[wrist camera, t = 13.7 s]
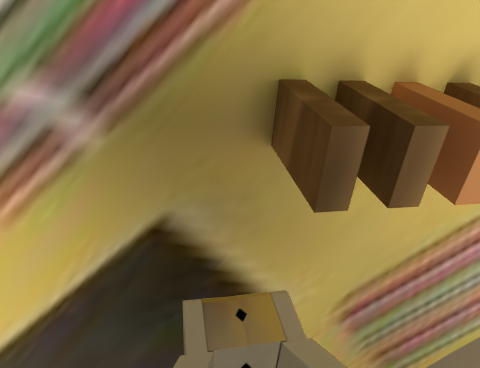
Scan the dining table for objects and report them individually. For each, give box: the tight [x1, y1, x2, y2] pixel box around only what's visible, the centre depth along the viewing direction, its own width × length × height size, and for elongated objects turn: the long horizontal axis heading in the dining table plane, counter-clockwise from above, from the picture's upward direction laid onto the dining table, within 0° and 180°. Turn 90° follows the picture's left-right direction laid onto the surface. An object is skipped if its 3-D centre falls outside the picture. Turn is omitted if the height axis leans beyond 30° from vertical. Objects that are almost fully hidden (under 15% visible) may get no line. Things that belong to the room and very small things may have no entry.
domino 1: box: [271, 80, 370, 212], centre depth 22 cm, size 2×5×9 cm, turn 176°
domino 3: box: [391, 82, 480, 205], centre depth 24 cm, size 2×5×9 cm, turn 176°
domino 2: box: [335, 81, 450, 208], centre depth 23 cm, size 2×5×9 cm, turn 176°
